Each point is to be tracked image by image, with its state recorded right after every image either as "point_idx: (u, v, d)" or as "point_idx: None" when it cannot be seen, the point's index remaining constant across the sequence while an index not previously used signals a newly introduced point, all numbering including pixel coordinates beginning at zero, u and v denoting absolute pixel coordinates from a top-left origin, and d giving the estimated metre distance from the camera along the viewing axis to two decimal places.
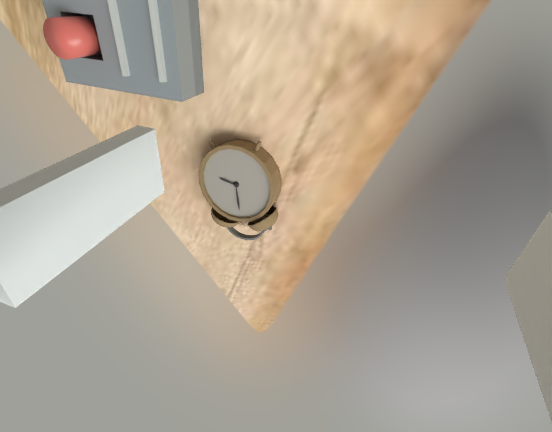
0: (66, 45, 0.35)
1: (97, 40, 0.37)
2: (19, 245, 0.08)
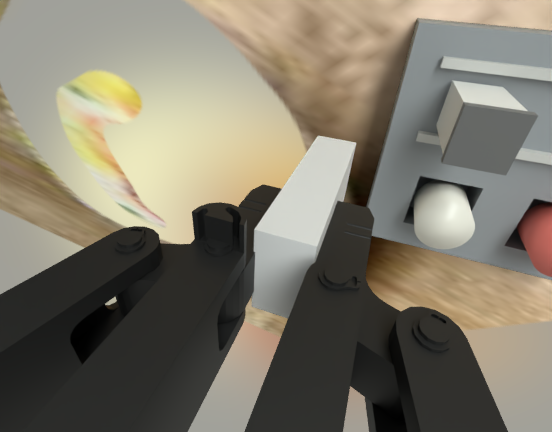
0: None
1: None
2: None
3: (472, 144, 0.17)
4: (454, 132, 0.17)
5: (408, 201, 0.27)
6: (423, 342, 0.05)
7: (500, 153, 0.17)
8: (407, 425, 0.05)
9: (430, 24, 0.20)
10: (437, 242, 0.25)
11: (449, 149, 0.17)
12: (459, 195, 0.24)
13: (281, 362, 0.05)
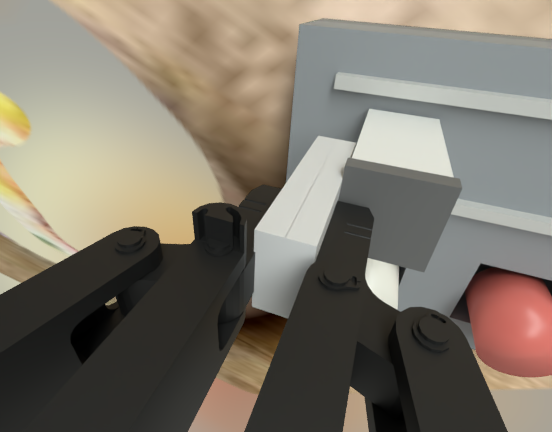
0: (544, 345, 0.15)
1: (529, 278, 0.17)
2: None
3: None
4: None
5: None
6: (423, 341, 0.05)
7: (411, 240, 0.10)
8: (407, 425, 0.05)
9: (315, 27, 0.14)
10: None
11: None
12: None
13: (280, 362, 0.05)
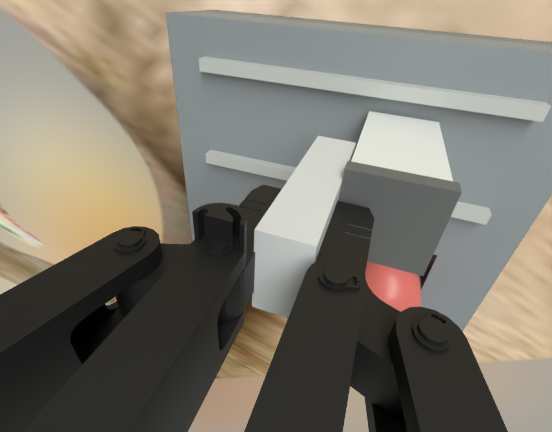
0: (395, 305, 0.17)
1: None
2: None
3: None
4: None
5: None
6: (423, 341, 0.05)
7: (410, 244, 0.10)
8: (407, 425, 0.05)
9: (178, 15, 0.15)
10: None
11: None
12: None
13: (280, 362, 0.05)
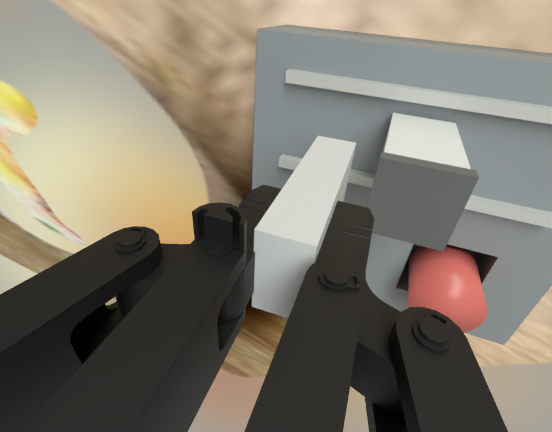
0: (461, 302, 0.18)
1: (457, 250, 0.20)
2: None
3: (395, 209, 0.12)
4: None
5: None
6: (423, 342, 0.05)
7: (433, 223, 0.12)
8: (407, 425, 0.05)
9: (269, 31, 0.17)
10: None
11: None
12: None
13: (281, 362, 0.05)
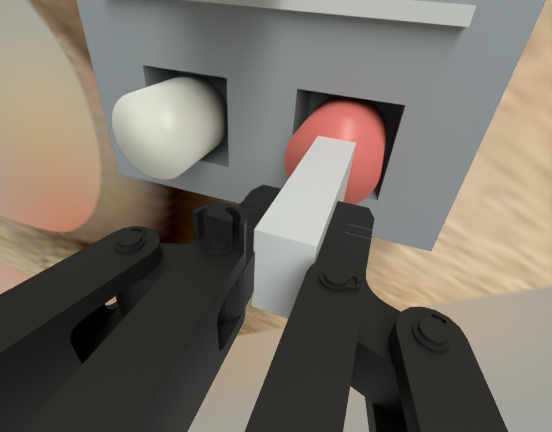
0: None
1: (356, 98, 0.15)
2: None
3: None
4: None
5: None
6: (423, 341, 0.05)
7: None
8: (407, 425, 0.05)
9: None
10: (155, 167, 0.15)
11: None
12: (180, 86, 0.15)
13: (281, 362, 0.05)
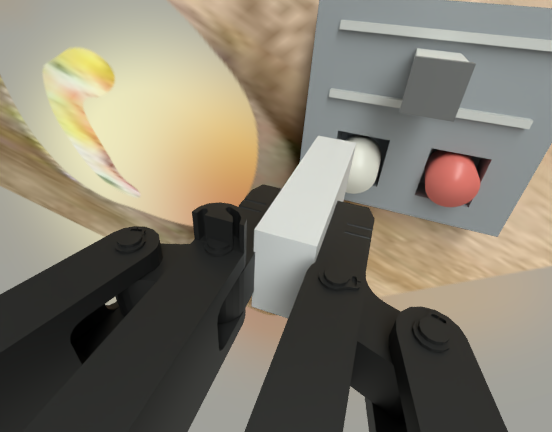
0: (462, 178, 0.26)
1: None
2: None
3: (423, 93, 0.19)
4: (407, 82, 0.19)
5: None
6: (423, 342, 0.05)
7: (447, 100, 0.19)
8: (407, 425, 0.05)
9: None
10: (349, 187, 0.28)
11: (404, 98, 0.20)
12: (367, 145, 0.28)
13: (281, 362, 0.05)
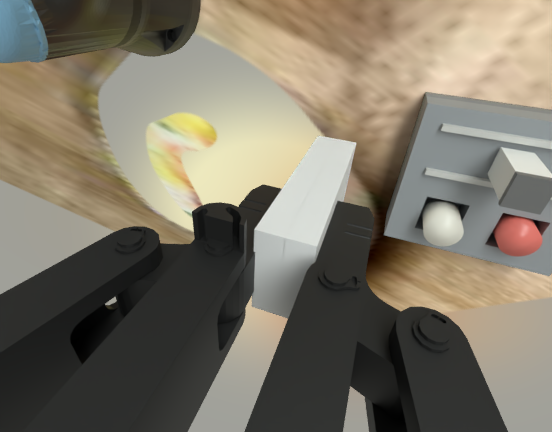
0: (528, 237, 0.35)
1: None
2: None
3: (520, 195, 0.28)
4: (509, 188, 0.28)
5: (418, 213, 0.39)
6: (423, 341, 0.05)
7: (537, 201, 0.27)
8: (407, 425, 0.05)
9: (434, 104, 0.32)
10: (438, 241, 0.37)
11: (505, 197, 0.28)
12: (453, 210, 0.36)
13: (281, 362, 0.05)
